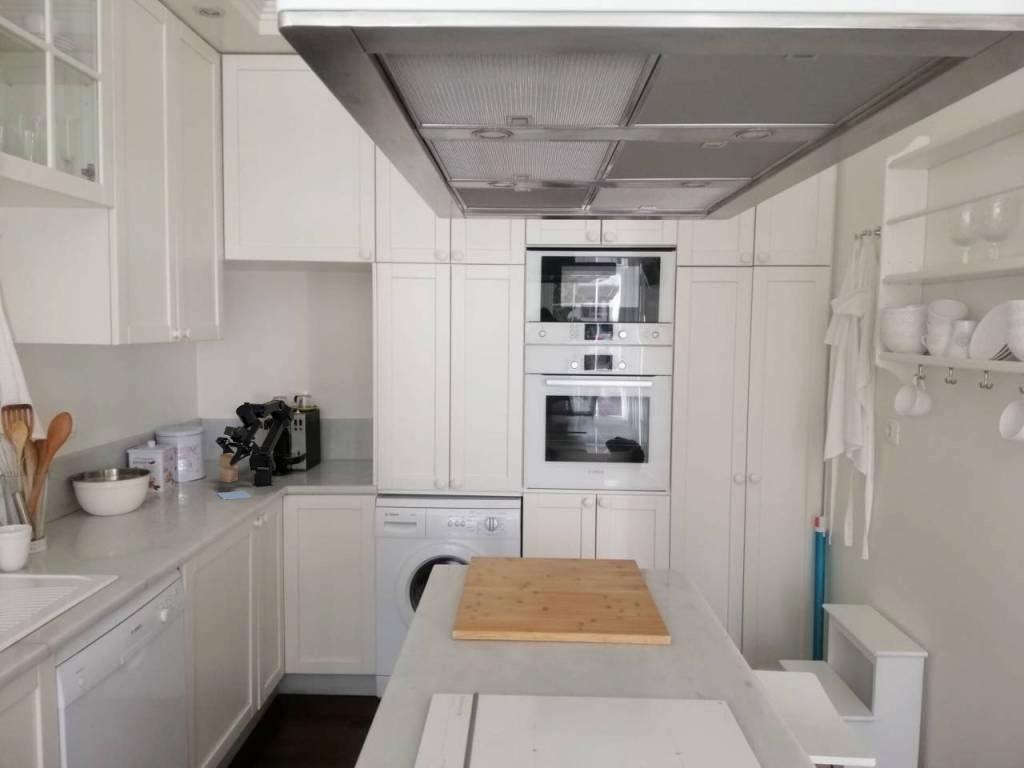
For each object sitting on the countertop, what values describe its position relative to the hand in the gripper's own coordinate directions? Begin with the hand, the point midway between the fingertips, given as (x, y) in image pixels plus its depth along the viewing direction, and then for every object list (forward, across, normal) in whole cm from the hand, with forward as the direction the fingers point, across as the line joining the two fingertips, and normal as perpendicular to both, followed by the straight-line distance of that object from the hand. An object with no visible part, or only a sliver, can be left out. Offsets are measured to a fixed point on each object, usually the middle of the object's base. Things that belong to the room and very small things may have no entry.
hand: (225, 463), depth 268 cm
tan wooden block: (+4, 0, +6) cm, 7 cm away
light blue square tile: (+8, +3, +10) cm, 13 cm away
